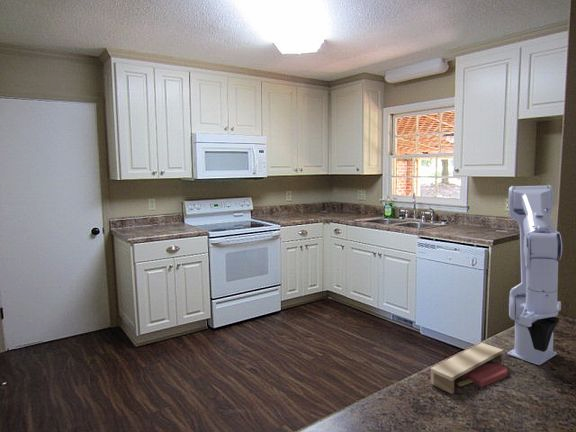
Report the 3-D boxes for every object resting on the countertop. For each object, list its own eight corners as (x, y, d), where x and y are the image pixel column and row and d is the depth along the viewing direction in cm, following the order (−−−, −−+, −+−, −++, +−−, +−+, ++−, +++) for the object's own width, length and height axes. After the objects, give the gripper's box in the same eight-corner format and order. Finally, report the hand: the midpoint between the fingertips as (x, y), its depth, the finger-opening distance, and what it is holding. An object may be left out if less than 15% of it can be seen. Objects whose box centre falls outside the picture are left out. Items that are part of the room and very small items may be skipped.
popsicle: (448, 376, 95) (493, 360, 101) (448, 383, 95) (493, 366, 102) (467, 387, 90) (513, 369, 97) (467, 393, 91) (513, 376, 97)
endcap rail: (481, 356, 106) (481, 342, 106) (503, 364, 102) (503, 349, 101) (430, 383, 95) (430, 368, 94) (451, 393, 90) (451, 377, 90)
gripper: (537, 278, 94) (536, 334, 96) (504, 291, 86) (504, 353, 88) (572, 284, 89) (570, 344, 90) (541, 299, 80) (539, 365, 82)
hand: (540, 349), depth 89 cm, fingers closed
